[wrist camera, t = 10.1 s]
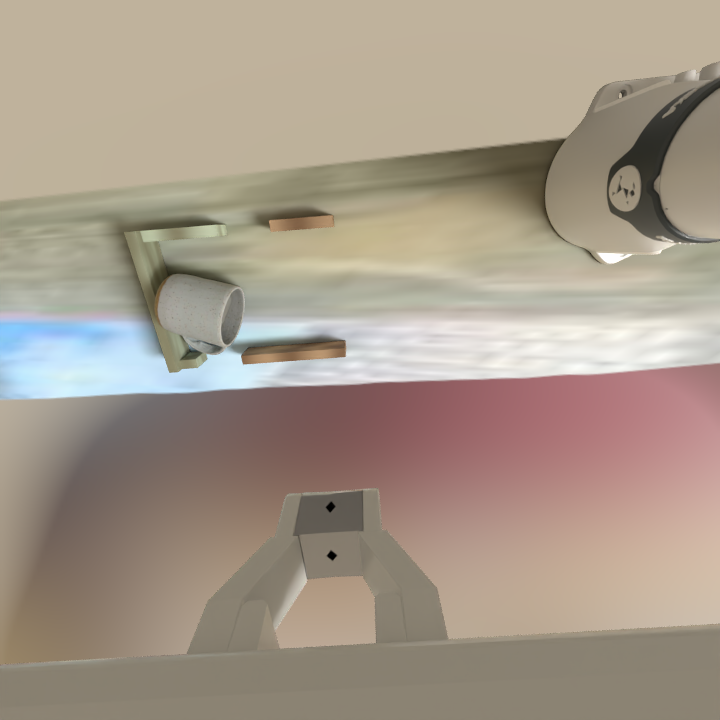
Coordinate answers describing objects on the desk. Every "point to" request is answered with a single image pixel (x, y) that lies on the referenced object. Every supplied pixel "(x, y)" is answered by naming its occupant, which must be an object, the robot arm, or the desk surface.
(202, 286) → the ceramic mug
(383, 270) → the desk surface
